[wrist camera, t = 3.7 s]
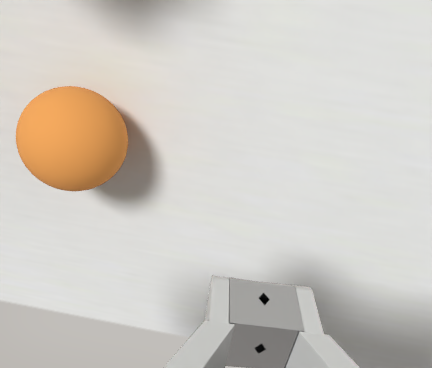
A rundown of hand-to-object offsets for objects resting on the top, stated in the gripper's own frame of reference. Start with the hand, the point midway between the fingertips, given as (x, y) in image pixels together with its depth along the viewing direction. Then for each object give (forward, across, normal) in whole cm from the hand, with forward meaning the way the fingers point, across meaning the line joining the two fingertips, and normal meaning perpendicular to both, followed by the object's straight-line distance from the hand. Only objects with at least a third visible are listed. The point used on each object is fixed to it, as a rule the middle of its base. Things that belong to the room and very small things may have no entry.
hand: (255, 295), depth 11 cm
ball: (+10, -9, 0) cm, 13 cm away
